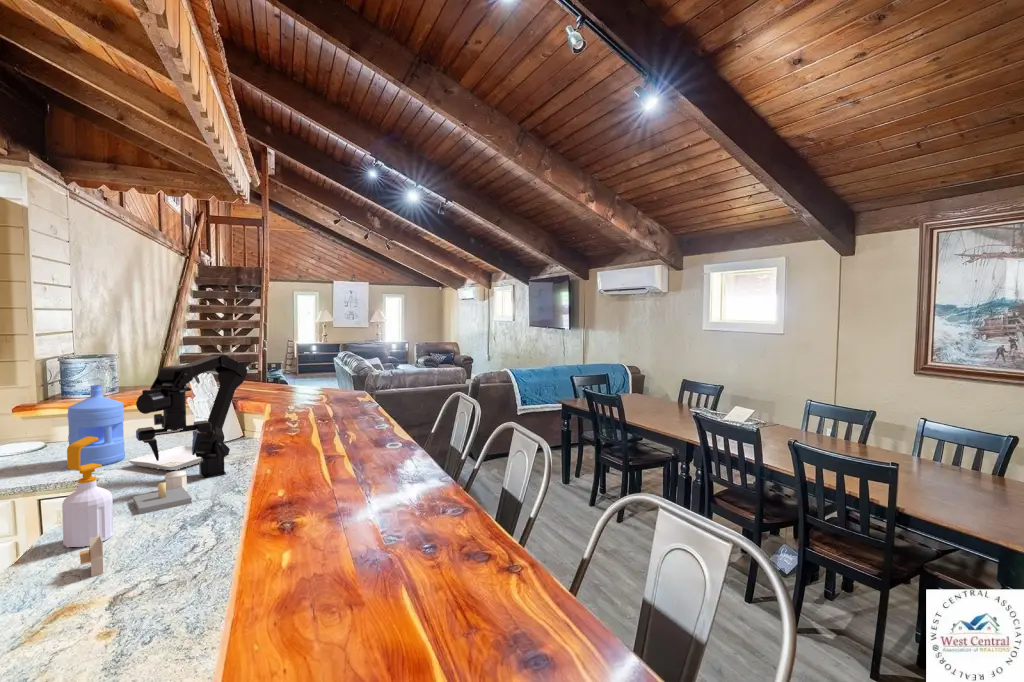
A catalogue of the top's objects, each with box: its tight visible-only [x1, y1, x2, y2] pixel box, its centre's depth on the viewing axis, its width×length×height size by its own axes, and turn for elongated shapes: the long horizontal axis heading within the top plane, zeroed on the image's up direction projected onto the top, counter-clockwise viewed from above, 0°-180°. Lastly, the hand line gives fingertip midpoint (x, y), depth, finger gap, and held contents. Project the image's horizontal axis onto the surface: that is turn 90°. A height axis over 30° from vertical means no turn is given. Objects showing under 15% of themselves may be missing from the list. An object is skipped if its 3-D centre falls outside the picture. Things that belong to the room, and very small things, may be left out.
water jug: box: [67, 384, 126, 467], centre depth 178 cm, size 16×16×28 cm
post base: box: [132, 481, 192, 515], centre depth 141 cm, size 12×12×6 cm
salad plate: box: [128, 444, 201, 471], centre depth 179 cm, size 21×21×3 cm
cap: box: [164, 470, 188, 490], centre depth 152 cm, size 5×5×5 cm
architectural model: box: [79, 532, 104, 578], centre depth 103 cm, size 3×7×7 cm, turn 43°
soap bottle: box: [61, 436, 114, 548], centre depth 116 cm, size 9×9×25 cm
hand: (175, 457), depth 151 cm, fingers open, 9 cm apart
